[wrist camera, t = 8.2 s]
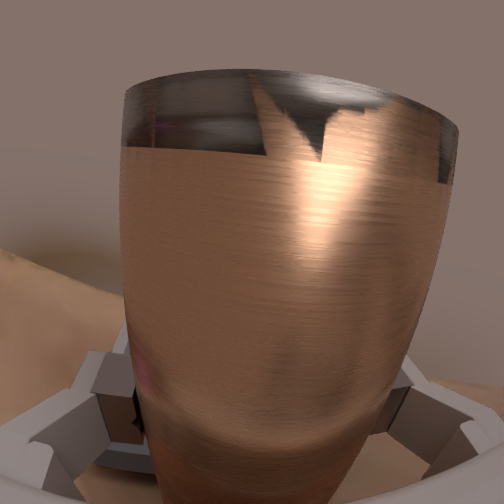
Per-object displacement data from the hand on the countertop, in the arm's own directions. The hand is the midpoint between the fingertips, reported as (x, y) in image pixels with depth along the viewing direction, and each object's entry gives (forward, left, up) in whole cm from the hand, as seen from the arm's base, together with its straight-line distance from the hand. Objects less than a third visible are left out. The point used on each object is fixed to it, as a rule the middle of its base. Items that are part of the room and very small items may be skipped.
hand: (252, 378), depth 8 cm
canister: (0, +1, -7) cm, 8 cm away
